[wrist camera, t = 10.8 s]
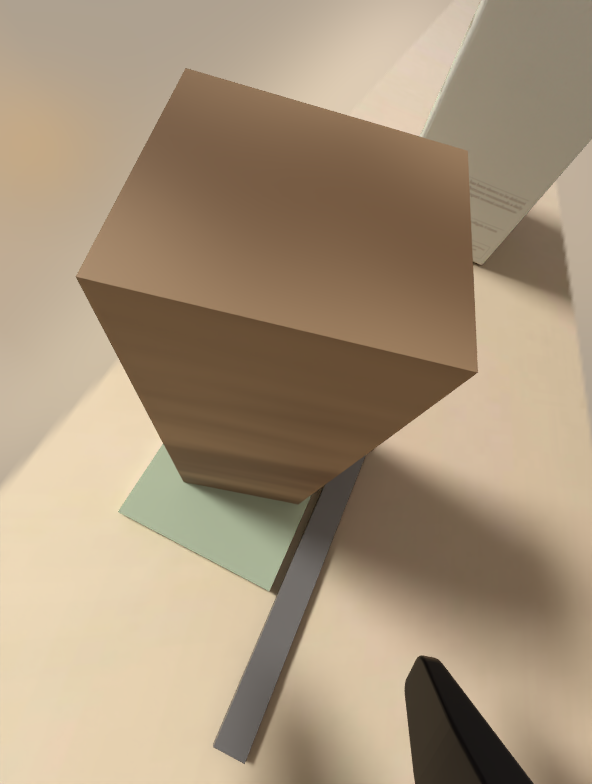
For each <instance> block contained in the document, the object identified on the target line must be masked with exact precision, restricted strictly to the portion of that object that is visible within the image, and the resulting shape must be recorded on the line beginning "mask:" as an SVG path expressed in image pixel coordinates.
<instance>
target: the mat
mask: <svg viewBox="0 0 592 784" xmlns="http://www.w3.org/2000/svg"><path fill="white" fill-rule="evenodd" d="M310 498H311V496H309V497H308V498H306V499H305V500H304V501H302V502H301V503H300V504H293V503H288V502H283V501H278V500H273V499H268V498H263V497H258V496H253V495H247V494H242V493H237V492H232V491H227V490H222V489H217V488H212V487H207V486H202V485H197V484H192V483H186V482H183V480H182V478H181V476H180V474H179V473H178V471H177V469H176V467H175V465H174V463H173V461H172V459H171V457H170V455H169V453H168V452H167V450H166V448H165V446H164V444H163V445H162V446H161V448H160V449H159V451H158V452H157V454H156V455H155V457H154V458H153V460H152V461H151V463H150V464H149V466H148V467H147V469H146V470H145V472H144V473H143V475H142V476H141V478H140V479H139V481H138V482H137V484H136V485H135V487H134V488H133V490H132V491H131V493H130V494H129V496H128V497H127V499H126V500H125V502H124V504H123V505H122V507H121V508H120V510H119V511H118V512H119V513H121V514H123V515H125V516H127V517H129V518H131V519H132V520H134V521H136V522H138V523H140V524H142V525H144V526H146V527H148V528H150V529H151V530H153V531H155V532H157V533H159V534H161V535H163V536H165V537H167V538H169V539H170V540H172V541H174V542H176V543H178V544H180V545H182V546H184V547H186V548H188V549H189V550H191V551H193V552H195V553H197V554H199V555H201V556H203V557H205V558H207V559H209V560H210V561H212V562H214V563H216V564H218V565H220V566H222V567H224V568H226V569H228V570H229V571H231V572H233V573H235V574H237V575H239V576H241V577H243V578H245V579H247V580H248V581H250V582H252V583H254V584H256V585H258V586H260V587H262V588H264V589H266V590H267V591H270V589H271V586H272V584H273V582H274V579H275V577H276V575H277V573H278V570H279V568H280V566H281V564H282V561H283V559H284V557H285V554H286V552H287V550H288V548H289V545H290V543H291V541H292V539H293V536H294V534H295V532H296V529H297V527H298V525H299V523H300V520H301V518H302V516H303V514H304V511H305V509H306V507H307V504H308V502H309V500H310Z"/></svg>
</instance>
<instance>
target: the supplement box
mask: <svg viewBox="0 0 592 784" xmlns="http://www.w3.org/2000/svg"><path fill="white" fill-rule="evenodd" d="M419 137H423V138H426V139H429V140H433V141H436V142H440V143H443V144H447V145H450V146H453V147H457V148H460V149H464V150H467V151H468V165H469V187H470V210H471V232H472V254H473V262H476V263H478V264H480V265H482V264H484V262H485V261H486V260H487V259H488V258H489V257H490V256H491V255H492V253H493V252H494V251H495V250H496V249H497V248H498V246H499V245H500V244H501V243H502V242H503V241H504V239H505V238H506V237H507V236H508V235H509V234H510V232H511V231H512V230H513V229H514V228H515V227H516V226H517V225H518V223H519V222H520V221H521V220H522V219H523V218H524V216H525V215H526V214H527V213H528V212H529V211H530V209H531V208H532V207H533V206H534V205H535V204H536V203H537V201H538V200H539V199H540V198H541V197H542V196H543V194H544V193H545V192H546V191H547V190H548V189H549V188H550V186H551V185H552V184H553V183H554V182H555V181H556V180H557V178H558V177H559V176H560V175H561V174H562V173H563V171H564V170H565V169H566V168H567V167H568V166H569V164H570V163H571V162H572V161H573V160H574V159H575V157H577V155H578V154H579V153H580V152H581V151H582V150H583V148H584V147H585V146H586V145H587V144H588V143H589V142H590V140H591V139H592V0H481V1H480V3H479V5H478V8H477V10H476V12H475V14H474V16H473V19H472V21H471V23H470V25H469V28H468V30H467V32H466V34H465V37H464V39H463V41H462V43H461V46H460V48H459V50H458V52H457V55H456V57H455V59H454V61H453V64H452V66H451V68H450V70H449V73H448V75H447V77H446V79H445V81H444V84H443V86H442V88H441V90H440V92H439V95H438V97H437V99H436V101H435V103H434V106H433V108H432V110H431V112H430V115H429V117H428V119H427V121H426V123H425V125H424V128H423V130H422V132H421V134H420V136H419Z"/></svg>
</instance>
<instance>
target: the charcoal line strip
mask: <svg viewBox="0 0 592 784" xmlns="http://www.w3.org/2000/svg"><path fill="white" fill-rule="evenodd" d="M365 456H366V455H365ZM365 456H364V457H362V458H361V459H359V460H358V461H357V462H355V463H354V464H353V465H351V466H350V467H349V468H347V469H346V470H345V471H343V472H342V473H340V474H339V475H338V476H336V477H335V478H334V479H332V480H331V481H330V482H328V483H327V484H326V485H324V487H323V489H322V492H321V494H320V496H319V499H318V501H317V503H316V506H315V508H314V510H313V513H312V515H311V517H310V520H309V522H308V524H307V527H306V529H305V531H304V534H303V536H302V538H301V541H300V543H299V545H298V548H297V550H296V552H295V555H294V557H293V559H292V562H291V564H290V566H289V569H288V571H287V573H286V576H285V578H284V580H283V583H282V585H281V587H280V589H279V592H278V594H277V596H276V599H275V601H274V603H273V606H272V608H271V610H270V613H269V615H268V617H267V620H266V622H265V624H264V627H263V629H262V631H261V634H260V636H259V638H258V641H257V643H256V645H255V648H254V650H253V652H252V655H251V657H250V659H249V662H248V664H247V666H246V669H245V671H244V673H243V676H242V678H241V680H240V683H239V685H238V687H237V690H236V692H235V694H234V697H233V699H232V701H231V704H230V706H229V708H228V711H227V713H226V715H225V718H224V720H223V722H222V725H221V727H220V729H219V732H218V734H217V736H216V739H215V741H214V743H213V747H214V748H216V749H218V750H220V751H221V752H223V753H225V754H227V755H229V756H231V757H233V758H234V759H236V760H238V761H240V762H242V763H244V764H245V762H246V759H247V757H248V754H249V751H250V749H251V746H252V744H253V741H254V739H255V736H256V734H257V731H258V729H259V726H260V723H261V721H262V718H263V716H264V713H265V711H266V708H267V706H268V703H269V701H270V698H271V695H272V693H273V690H274V688H275V685H276V683H277V680H278V678H279V675H280V672H281V670H282V667H283V665H284V662H285V660H286V657H287V655H288V652H289V650H290V647H291V644H292V642H293V639H294V637H295V634H296V632H297V629H298V627H299V624H300V621H301V619H302V616H303V614H304V611H305V609H306V606H307V604H308V601H309V599H310V596H311V593H312V591H313V588H314V586H315V583H316V581H317V578H318V576H319V573H320V571H321V568H322V565H323V563H324V560H325V558H326V555H327V553H328V550H329V548H330V545H331V542H332V540H333V537H334V535H335V532H336V530H337V527H338V525H339V522H340V520H341V517H342V514H343V512H344V509H345V507H346V504H347V502H348V499H349V497H350V494H351V492H352V489H353V486H354V484H355V481H356V479H357V476H358V474H359V471H360V469H361V466H362V463H363V461H364V458H365Z"/></svg>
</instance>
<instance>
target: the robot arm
mask: <svg viewBox="0 0 592 784" xmlns="http://www.w3.org/2000/svg"><path fill="white" fill-rule="evenodd" d="M405 700H406V709H407V718H408V727H409V736H410V745H411V754H412V763H413V772H414V779H415V784H533V782H532V781H531V780H530V778H529V777H528V776H527V774H526V773H525V772H524V770H523V769H522V768H521V766H520V765H519V764H518V763H517V761H516V760H515V759H514V757H513V756H512V755H511V753H510V752H509V751H508V749H507V748H506V747H505V745H504V744H503V743H502V741H501V740H500V739H499V737H498V736H497V735H496V734H495V732H494V731H493V730H492V728H491V727H490V726H489V724H488V723H487V722H486V720H485V719H484V718H483V716H482V715H481V714H480V712H479V711H478V710H477V708H476V707H475V706H474V705H473V703H472V702H471V701H470V699H469V698H468V697H467V695H466V694H465V693H464V691H463V690H462V689H461V687H460V686H459V685H458V683H457V682H456V681H455V680H454V678H453V677H452V676H451V674H450V673H449V672H448V670H447V669H446V668H445V666H444V665H443V664H442V663H441V662H440V661H439V660H438V659H436V658H433V657H428V656H419V657H418V658H417V659H416V661H415V663H414V665H413V667H412V669H411V671H410V673H409V675H408V677H407V679H406V682H405Z"/></svg>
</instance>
